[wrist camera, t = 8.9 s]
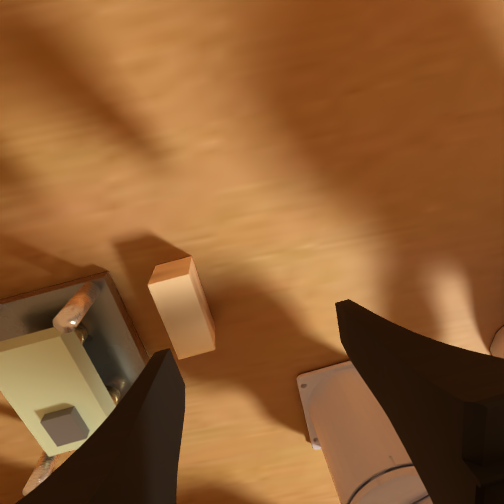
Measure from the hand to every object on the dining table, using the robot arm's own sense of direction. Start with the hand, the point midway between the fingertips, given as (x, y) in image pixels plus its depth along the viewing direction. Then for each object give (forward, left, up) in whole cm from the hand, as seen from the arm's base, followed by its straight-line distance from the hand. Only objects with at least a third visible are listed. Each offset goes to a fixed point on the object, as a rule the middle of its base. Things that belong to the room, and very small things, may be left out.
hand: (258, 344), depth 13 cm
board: (-5, +14, -7) cm, 17 cm away
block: (-2, +5, -10) cm, 11 cm away
